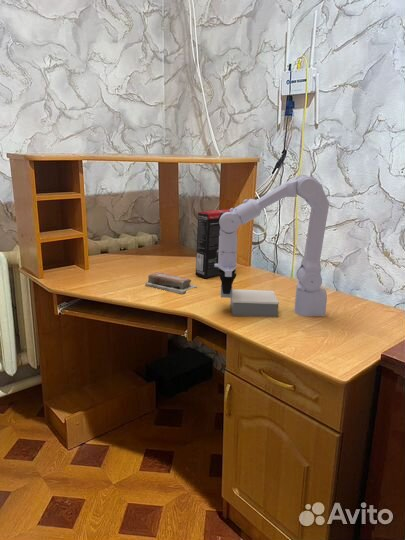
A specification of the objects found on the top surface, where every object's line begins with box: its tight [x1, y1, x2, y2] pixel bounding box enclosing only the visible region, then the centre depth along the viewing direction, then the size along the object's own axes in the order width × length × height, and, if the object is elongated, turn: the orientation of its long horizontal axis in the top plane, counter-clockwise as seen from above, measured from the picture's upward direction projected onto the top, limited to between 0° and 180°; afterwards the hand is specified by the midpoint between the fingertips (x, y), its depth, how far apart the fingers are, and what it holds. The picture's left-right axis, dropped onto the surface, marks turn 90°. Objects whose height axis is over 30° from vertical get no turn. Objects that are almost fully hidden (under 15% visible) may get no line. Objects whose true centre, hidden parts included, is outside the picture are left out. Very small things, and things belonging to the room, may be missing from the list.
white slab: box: [219, 283, 280, 305], centre depth 135 cm, size 18×11×4 cm, turn 90°
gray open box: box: [230, 298, 279, 318], centre depth 136 cm, size 14×11×5 cm
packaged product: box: [145, 271, 198, 295], centre depth 161 cm, size 18×5×10 cm
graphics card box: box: [195, 208, 231, 279], centre depth 176 cm, size 17×7×27 cm, turn 134°
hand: (226, 292), depth 135 cm, fingers closed on white slab, 2 cm apart
